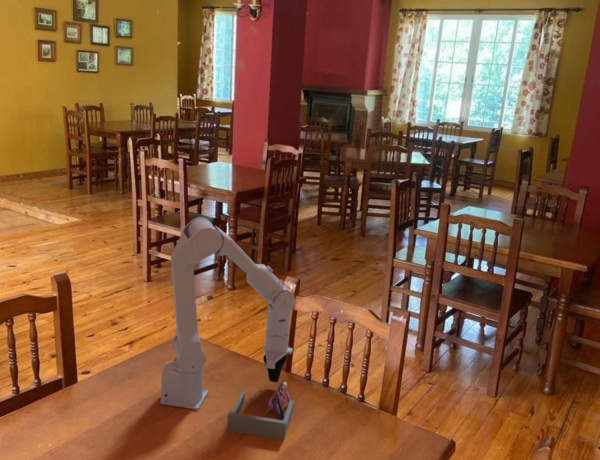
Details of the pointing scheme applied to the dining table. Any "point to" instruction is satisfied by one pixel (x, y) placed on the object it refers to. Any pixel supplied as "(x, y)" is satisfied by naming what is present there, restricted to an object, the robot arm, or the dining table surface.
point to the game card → (278, 401)
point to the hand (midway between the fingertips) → (274, 380)
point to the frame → (258, 421)
